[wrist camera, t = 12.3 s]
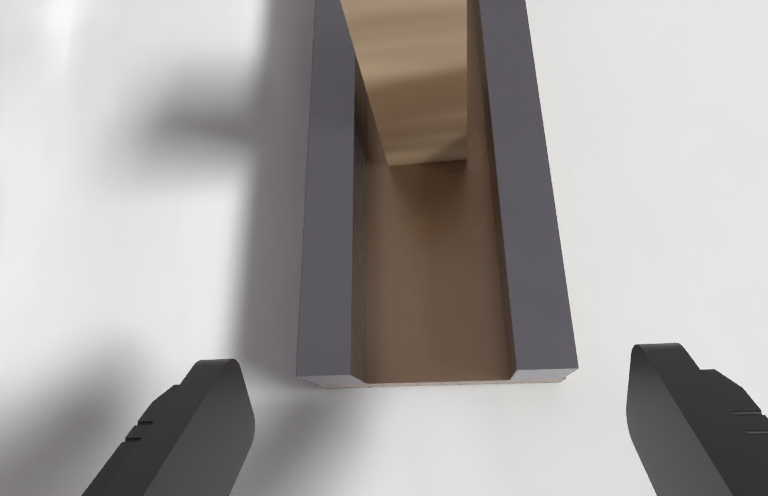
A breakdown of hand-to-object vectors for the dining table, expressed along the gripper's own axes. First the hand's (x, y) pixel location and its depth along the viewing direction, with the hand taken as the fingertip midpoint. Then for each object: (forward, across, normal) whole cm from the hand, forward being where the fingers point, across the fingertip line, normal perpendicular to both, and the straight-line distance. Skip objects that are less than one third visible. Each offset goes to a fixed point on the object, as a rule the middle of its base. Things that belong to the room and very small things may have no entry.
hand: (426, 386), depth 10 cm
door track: (+12, 0, -3) cm, 13 cm away
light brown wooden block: (+12, 0, -3) cm, 12 cm away
